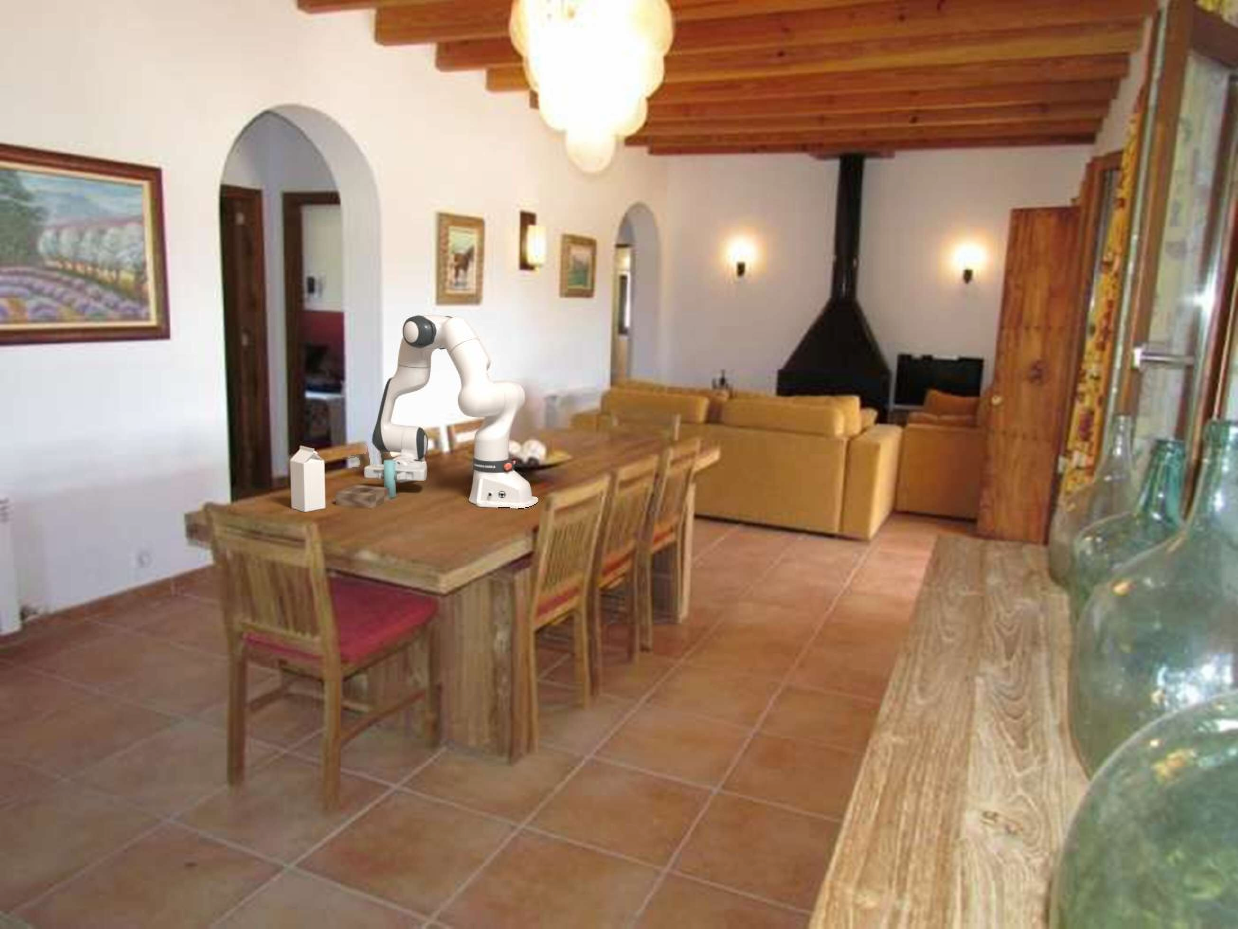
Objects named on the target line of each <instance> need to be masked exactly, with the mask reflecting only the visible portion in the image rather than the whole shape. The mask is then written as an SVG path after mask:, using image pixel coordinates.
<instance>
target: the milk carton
mask: <svg viewBox="0 0 1238 929" xmlns="http://www.w3.org/2000/svg"><path fill="white" fill-rule="evenodd" d="M289 464H290V466H289V467H290V493H291V494H290V497H291V509H294V510H297V511H300V512H304V513H307V512H312V511H318V510H323V509H326V481H325V480H326V479H325V477H326V476H325V460H324V459H323V458H322V457H321V456H320V455H318V452H317V451H315V448H312V447H307V446H304V445H300V446H299V450H298V451H297V452H296V453H295V454H294V455H293V457H292V456H291V459H290V460H289Z"/></svg>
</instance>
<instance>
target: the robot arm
mask: <svg viewBox="0 0 1238 929" xmlns="http://www.w3.org/2000/svg"><path fill="white" fill-rule="evenodd" d="M438 349H439V350H441V351H442V350H446V351H447V354H448V355H449V358H450V359H451V362H452V363H453V365H454V366H455V369H456V371H457V373H458V375H459V378H460V384H461V385H460V386H461V388H460V391H459V392H458V396H457V406H458V408H459V409H460V412H461V413H462V414H464V415H465V416H467V417H472V418H477V419H479V418H481V419H482V418H484V419H483V422H482V424H481V425H480V427H479V428H478V429H477V430H476V432H475V433H474V439H473V440H474V441H473V442H474V443H473V447H474V449H473V451H474V455H473V456H474V457H473V458H472V474H473V476H472V477H473V478H472V484H471V491H470V495H469V498H468V501H469V502H470V503H472V504H474V505H475V506H477V507H483V508H498V507H510V508H509V509H518V508H524V509H526V508H525V507H529V506H532V505H534V504H536V503H537V502H538V503H539V498H538V497H537V496H533V494H532V488H531V485H530V482H529V481H528V480H526V479H525V478H524V477H523V476H521V475H520V474H519V473H518V472H517V471H515V464H516V460H512V459H511V458H510V457H509V455H510V454H509V448H510V435H511V431H512V430H511V429H512V426H513V423H514V421H515V418H516V416H517V414H518V412H519V411H520V410H521V408H523V407H524V404H525V401H526V394H525V390H524V388H523V387H522V386H521V385H520V383H517V382H515V381H510V380H498V381H497V380H496V381H495V380H494V381H493V380H491V379H490V376H489V372H488V370H489V368H490V366H491V364H492V362H491V358H490V356H489V354H488V353H487V350H486V349H485V346H484V345H483V343H482V341H481V340H480V338H479V336H478V334H477V333H476V332H475V330H474V329H473V327H472V326H471V324H470V323H469V322H468V321H467V320H466V319H465V318H463V317H461V316H449V315H445V316H444V315H436V314H424V315H419V314H418V315H414V316H411V317H409V318H407V319H406V320H405V321H404V322H403V326H402V339H401V340H400V346H399V350H398V357H397V368H396V371H395V374H394V375H393V376H392V377H390V378H388V379H387V382H386V383H385V386H384V389H383V393H382V396H381V397H382V398H381V401H380V406H379V410H378V415H377V419H376V423H375V426H374V429H373V432H372V436H371V438H372V439H371V442H372V444H373V445H372V446H374V448H375V449H377V451H379V453H380V452H381V453H382V452H384V453H390V452H391V453H400V454H399V455H398V456H395V457H394V458H391V460H395V475H394V477H395V478H394V480H395V483H400V484H401V483H406V482H412V481H417V482H418V481H419V482H420V481H421V482H423V481H426V480H427V477H428V476H427V475H428V465H427V461H426V460H425V456H426V455H427V453H428V448H429V438H428V435H427V433H426V431H425V430H424V429H423V428H422V427H421V426H413V425H402V424H396V423H395V424H394V423H393V422H392V417H393V413H394V408H395V404H396V401H397V399H399V397H400V396H403V395H407V394H411V393H414V392H418V391H421V390H422V389H423V388H425V387H426V386H427V384H428V383H429V381H430V378H431V369H432V368H431V367H432V355H433V353H434V351H435V350H438ZM363 473H364V474H363V475H364V478H366V479H378V480H384V463H383V464H381V463H374V464H369V465H366V466H365V467H364V469H363ZM538 503H537V504H538ZM537 504H536V505H537ZM534 506H535V505H534ZM532 507H533V506H532ZM529 508H530V507H529Z"/></svg>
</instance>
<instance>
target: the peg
mask: <svg viewBox="0 0 1238 929" xmlns="http://www.w3.org/2000/svg"><path fill="white" fill-rule="evenodd" d="M383 464H384V479H383V487H384V488H389V499H391V498H396V489H397V488H396V481H395V480H394V478H395V477H394V475H395V460H392V459H385V460H383Z"/></svg>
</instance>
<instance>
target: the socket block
mask: <svg viewBox="0 0 1238 929" xmlns="http://www.w3.org/2000/svg"><path fill="white" fill-rule="evenodd" d="M389 501H390V498H389V488H384V486H383V487H382V486H372V485H362V484H354V485H351V486H348V487H346V488H344V489H340V490H339V491H335V506H342V507H350V508H351V507H353V508H360V507H361V509H362V508H363V509H370V508H371V509H373V508H376V507H378V506H379V504H380V505H382V504H383V503H387V502H389ZM381 503H382V504H381ZM377 505H378V506H377Z"/></svg>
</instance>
